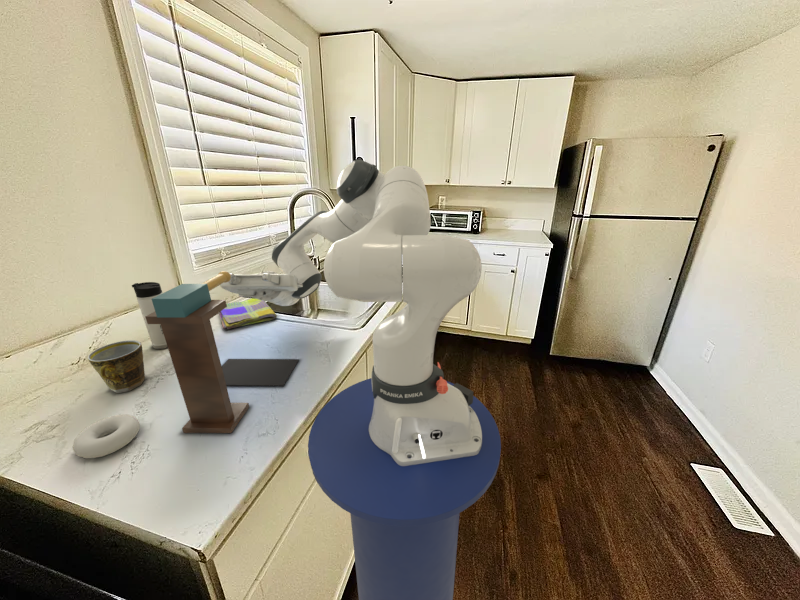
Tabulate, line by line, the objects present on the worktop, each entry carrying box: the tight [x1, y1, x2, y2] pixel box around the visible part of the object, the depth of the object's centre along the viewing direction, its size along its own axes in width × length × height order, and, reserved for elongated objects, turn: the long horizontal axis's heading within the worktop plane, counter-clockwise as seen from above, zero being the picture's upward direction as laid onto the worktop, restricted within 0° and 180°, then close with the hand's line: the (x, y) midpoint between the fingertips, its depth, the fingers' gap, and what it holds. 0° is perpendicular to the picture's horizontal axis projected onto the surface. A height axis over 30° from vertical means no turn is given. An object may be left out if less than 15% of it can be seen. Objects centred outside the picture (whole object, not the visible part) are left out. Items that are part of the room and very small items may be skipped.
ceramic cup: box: [87, 339, 146, 394], centre depth 78 cm, size 13×10×10 cm
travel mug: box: [131, 281, 168, 350], centre depth 97 cm, size 6×7×20 cm
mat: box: [221, 358, 299, 388], centre depth 86 cm, size 20×12×1 cm, turn 88°
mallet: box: [152, 270, 231, 318], centre depth 64 cm, size 5×19×4 cm, turn 178°
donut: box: [72, 413, 141, 459], centre depth 64 cm, size 10×4×10 cm
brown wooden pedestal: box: [145, 299, 250, 434], centre depth 65 cm, size 10×8×26 cm
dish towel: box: [219, 298, 278, 330], centre depth 121 cm, size 18×24×3 cm
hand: (246, 276), depth 82 cm, fingers open, 8 cm apart
